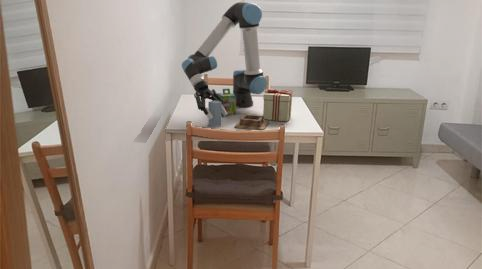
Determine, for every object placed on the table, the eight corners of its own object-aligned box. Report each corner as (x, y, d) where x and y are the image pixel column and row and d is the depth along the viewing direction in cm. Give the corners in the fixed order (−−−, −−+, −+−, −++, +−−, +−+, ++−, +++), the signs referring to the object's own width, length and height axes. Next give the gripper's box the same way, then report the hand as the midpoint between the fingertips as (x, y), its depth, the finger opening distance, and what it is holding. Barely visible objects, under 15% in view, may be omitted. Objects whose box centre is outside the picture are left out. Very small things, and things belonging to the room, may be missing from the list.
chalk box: (221, 115, 261) (222, 91, 257) (216, 111, 269) (216, 87, 265) (236, 114, 265) (236, 90, 260) (230, 110, 273) (231, 87, 268)
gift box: (291, 114, 269) (293, 86, 264) (289, 122, 252) (291, 92, 246) (264, 112, 271) (265, 84, 266) (260, 120, 254) (261, 90, 249)
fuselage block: (208, 124, 242) (208, 101, 238) (214, 123, 245) (215, 100, 241) (214, 126, 238) (214, 103, 235) (221, 125, 242) (221, 102, 238)
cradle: (234, 127, 238) (234, 119, 236) (241, 120, 252) (241, 112, 251) (263, 130, 234) (264, 122, 233) (268, 122, 249) (269, 115, 248)
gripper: (211, 85, 254) (229, 117, 249) (180, 90, 238) (199, 124, 233) (217, 77, 249) (236, 109, 244) (186, 82, 233) (206, 116, 228)
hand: (218, 117), depth 238 cm, fingers open, 10 cm apart
